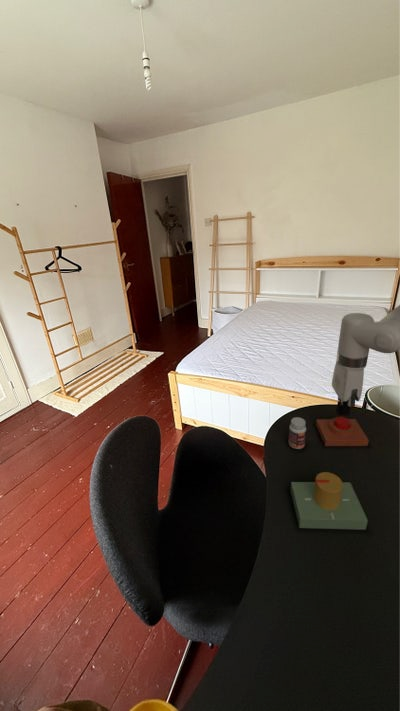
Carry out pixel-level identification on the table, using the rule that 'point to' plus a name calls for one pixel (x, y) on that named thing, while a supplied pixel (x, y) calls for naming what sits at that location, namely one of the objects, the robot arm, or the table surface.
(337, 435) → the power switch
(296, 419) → the pill bottle
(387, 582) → the table surface
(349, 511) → the control panel
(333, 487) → the dial
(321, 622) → the table surface
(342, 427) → the power button
